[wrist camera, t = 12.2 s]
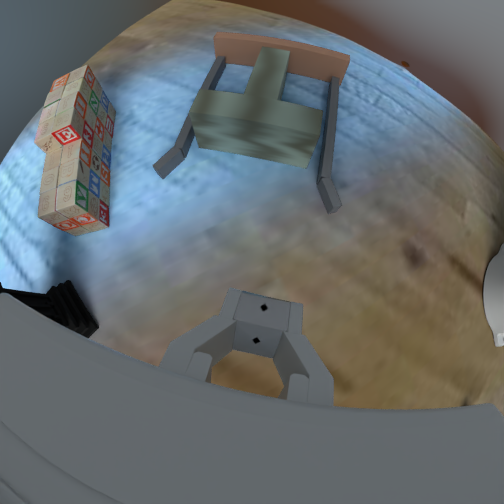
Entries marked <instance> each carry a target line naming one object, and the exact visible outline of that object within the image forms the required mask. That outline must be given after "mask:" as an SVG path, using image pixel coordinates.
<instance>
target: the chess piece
mask: <svg viewBox="0 0 504 504" xmlns="http://www.w3.org/2000/svg"><path fill="white" fill-rule="evenodd" d="M1 293H8V294H10V295H11V296H13V297H14V298H16V299H17V300H19V301H20V302H22V303H24V304H25V305H27V306H28V307H30V308H32V309H33V310H35V311H37V312H39V313H40V314H42V315H44V316H46V317H47V318H49V319H51V320H53V321H55V322H57V323H58V324H60V325H62V326H64V327H66V328H68V329H70V330H72V331H74V332H76V333H78V334H80V335H82V336H84V337H86V338H89V337H90V336H91V335H92V334H93V333H94V332H95V331H96V330H97V329H98V328H99V327H98V326H97V324H96V323H95V321H94V320H93V318H92V316H91V315H90V313H89V312H88V310H87V308H86V307H85V305H84V304H83V302H82V300H81V299H80V297H79V295H78V293H77V292H76V290H75V288H74V287H73V285H72V283H71V281H69V280H67V281H66V282H65V283H64V284H63V283H60V284H59V285H58V286H57V287H55V286H52V287H51V289H50V290H49V291H48V292H47V293H46V294H41V293H33V292H25V291H18V290H12V289H5V288H2V285H1V282H0V294H1Z"/></svg>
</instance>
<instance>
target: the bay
mask: <svg viewBox="0 0 504 504" xmlns="http://www.w3.org/2000/svg"><path fill="white" fill-rule="evenodd" d="M262 46H263V47H269V48H276V49H281V50H287V51H290V55H289V61H288V68H287V72H288V73H293V74H298V75H302V76H306V77H311V78H315V79H319V80H322V81H326V82H330V85H329V91H328V101H327V110H326V119H325V128H324V136H323V144H322V151H321V158H320V165H319V172H318V179H317V185H318V186H317V188H318V190H319V193H320V195H321V198H322V200H323V203H324V205H325V208H326V210H327V213H328V214H330V213H334V212H337V210H338V209H339V208H340V207H341V206H342V204H341V201H340V199H339V196H338V194H337V191H336V189H335V187H334V184H333V182H332V180H331V169H332V161H333V152H334V142H335V132H336V121H337V108H338V94H339V85H340V86H341V83H342V80H343V78H344V75H345V73H346V70H347V67H348V65H349V62H350V55H346V54H343V53H340V52H336V51H333V50H329V49H325V48H321V47H317V46H313V45H309V44H304V43H300V42H295V41H290V40H284V39H278V38H272V37H265V36H258V35H250V34H240V33H227V32H217V33H216V35H215V36H214V47H215V56H216V60H215V62H214V64H213V66H212V67H211V69H210V71H209V73H208V75H207V77H206V79H205V81H204V83H203V85H202V87H201V89H205V90H215V87H216V85H217V83H218V81H219V79H220V77H221V75H222V73H223V71H224V69H225V67H226V66H225V63H229V64H238V65H246V66H253V67H254V66H255V63H256V61H257V58H258V56H259V53H260V51H261V48H262ZM194 136H195V132H194V129H193V125H192V122H191V118H190V115H189V113H188V116H187V118H186V120H185V122H184V124H183V127H182V129H181V131H180V134H179V136H178V138H177V141H176V143H175V145H174V147H173V148H172V149H170V150H169V151H168V152H167V153H166V154H165V155H164V156H163V157H161V158H160V159H159V160H158V161H157V162H156V163H155V164H154V165H153V168H154V169H155V171H156V172H157V174H158V175H159V176H160V177H161V178H162V179H164V178H165V177H166V176H167V175H168V174H169V173H170V172H171V171H173V170H174V169H175V168H176V167H177V166H178V165H179V164H180V163H181V162H182V161H183V160H185V159H184V158H186V156H187V153H188V151H189V148H190V146H191V143H192V141H193V138H194Z"/></svg>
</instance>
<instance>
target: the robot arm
mask: <svg viewBox="0 0 504 504" xmlns="http://www.w3.org/2000/svg"><path fill="white" fill-rule="evenodd" d="M483 297H484V308H485V314H486V318H487V321H488V323H489V325H490V327H491V329H492V331H493V335H494V342H495V345H496V346H497V347H499V346H503V345H504V243H503V244H502V245H501V248H500V250H499V253H498V254H497V255H496V256H494V257H493V259H492V260H491V261H490V263H489V265H488V268H487V271H486V275H485V280H484V292H483ZM302 320H303V304H300V303H295V302H289V301H285V300H280V299H275V298H271V297H266V296H262V295H258V294H254V293H250V292H246V291H241V290H237V289H234V288H229V290H228V292H227V295H226V298H225V300H224V303H223V306H222V308H221V311H220V314H219V316H217V315H215V316H213V317H211V318H210V319H208V320H206V321H205V322H203V323H201V324H200V325H198V326H196V327H195V328H193V329H191V330H190V331H188V332H186V333H185V334H183V335H181V336H180V337H178V338H176V339H175V340H173V341H171V342H170V344H169V346H168V348H167V350H166V353H165V355H164V357H163V359H162V361H161V363H160V365H159V367H157V366H154V365H151V364H148V363H146V362H143V361H140V360H138V359H135V358H133V357H130V356H127V355H125V354H123V353H120V352H118V351H115V350H113V349H111V348H108V347H106V346H104V345H101V344H99V343H97V342H95V341H93V340H90V339H88V338H86V337H84V336H82V335H80V334H78V333H76V332H74V331H72V330H70V329H68V328H66V327H64V326H62V325H60V324H58V323H57V322H55V321H53V320H51V319H49V318H47V317H46V316H44V315H42V314H40V313H39V312H37V311H35V310H33V309H32V308H30V307H28V306H27V305H25V304H24V303H22V302H20V301H19V300H17V299H16V298H14V297H13V296H11V295H10V294H8V293H1V294H0V504H504V416H503V415H502V414H501V413H500V411H499V410H498V409H497V408H496V407H495V406H494V405H493V404H491V403H485V404H478V405H470V406H461V407H451V408H437V409H409V410H394V409H364V408H349V407H338V406H333V393H334V379H333V377H332V376H331V374H330V373H329V371H328V369H327V368H326V366H325V365H324V363H323V362H322V360H321V359H320V357H319V356H318V354H317V353H316V351H315V350H314V348H313V347H312V345H311V344H310V342H309V341H308V339H307V338H306V336H305V335H302ZM232 349H233V350H237V351H242V352H247V353H252V354H256V355H260V356H264V357H268V358H273V361H274V364H275V366H276V368H277V370H278V373H279V375H280V377H281V379H282V382H283V384H284V388H283V390H282V391H281V393H280V395H279V397H278V398H273V397H268V396H263V395H258V394H253V393H248V392H244V391H239V390H235V389H231V388H227V387H223V386H219V385H215V384H211V372H212V367H213V366H214V365H215V364H216V363H218V362H219V361H220V360H221V359H222V358H224V357H225V356H226V355H227V354H228V353H229V352H231V351H232Z"/></svg>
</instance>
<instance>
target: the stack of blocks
mask: <svg viewBox="0 0 504 504" xmlns="http://www.w3.org/2000/svg"><path fill="white" fill-rule="evenodd" d="M115 114H116V111H115V109H114V108H113V106H112V104H111V103H110V101H109V100H108V98H107V96H106V95H105V93H104V91H103V90H102V87H101V85H100V84H99V82H98V80H97V79H96V77H95V76H94V74H93V73H92V71H91V69H90V67H89V66H88V65H85V66H83V67H81V68H79V69H76V70H74V71H72V72H71V73H68V74H66V75H64V76H62V77H60V78H58V79H56V80H55V81H54V82H53V85H52V88H51V90H50V93H49V94H48V96H47V99H46V101H45V105H44V109H43V111H42V114H41V118H40V121H39V126H38V129H37V133H36V137H35V141H34V143H35V144H36V145H37V146H38V147H39V148H40V149H41V150H43V151H44V152H45V153H46V158H45V163H44V169H43V174H42V180H41V187H40V198H39V207H38V218H40V219H42V220H44V221H46V222H48V223H50V224H52V226H54V227H56V228H58V229H60V230H62V231H65V232H67V233H69V234H72V235H74V236H78V235H82V234H85V233H89V232H94V231H98V230H102V229H105V228H108V227H109V208H108V207H109V186H110V159H111V145H112V138H113V129H114V122H115Z"/></svg>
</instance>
